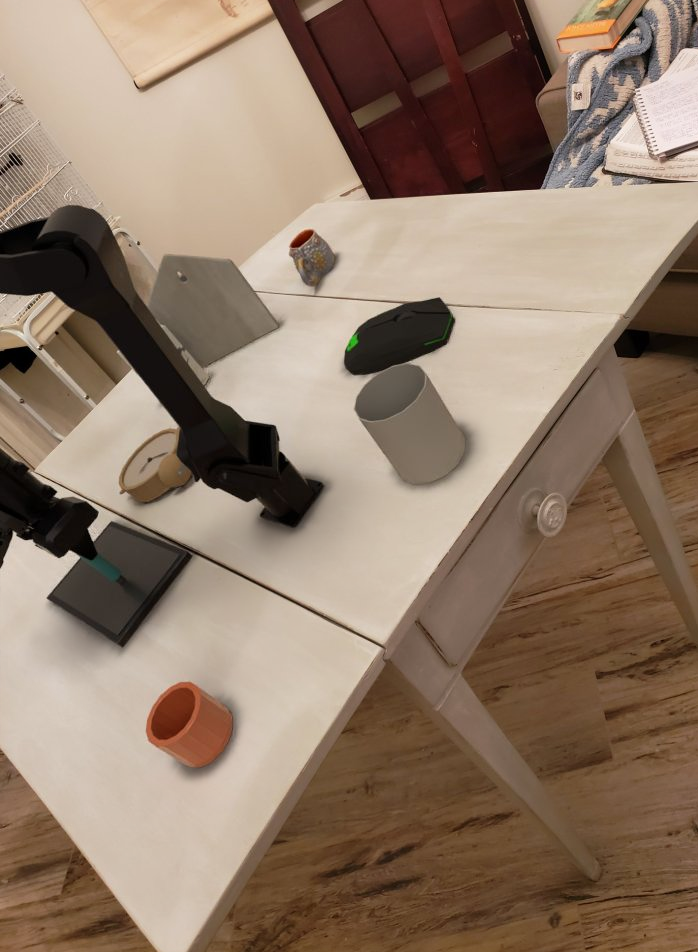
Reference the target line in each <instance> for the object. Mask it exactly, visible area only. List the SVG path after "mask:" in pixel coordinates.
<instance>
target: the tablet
mask: <svg viewBox="0 0 698 952" xmlns="http://www.w3.org/2000/svg"><path fill="white" fill-rule="evenodd" d="M93 543H94V546H95V548H96V551H97V553H98V554H100V555H101V556H102V557H103V558H105V559H106V560H107V561H108V562H110V563H111V564H112V565H113V566H115V567H116V568H117V569H118V570H120V571H121V575H122V576H123V577H124V578H125V579H124V581H123V582H122V583H121V584H118V583H117V582H116V581H114V582H112V581H110V580H109V579H107V578H106V577H105V576H104V575H102V574H101V573H100V572H98V571H97V570H96V569H95V568H93V567H92V566H91V565H90V564H88V563H87V562H86V561H84V560H83V559H82V558H81V557H79V558H78V559H77V560H76V562H75V563H74V565H72V566H71V567H70V569H69V570H68V571H67V573H66V574H65V575H64V576H63V577H62V578H61V580H60V581H59V582H58V583H57V585H56V586H55V587H54V588H53V589H52V590H51V592H49V594H47V597H46V600H48V601H49V602H50V603H52V604H54V605H56V606H57V607H58V608H60V609H62V610H63V611H64V612H66V613H68V614H69V615H70V616H72V617H74V618H76V619H77V620H79V621H80V622H82V623H84V625H86V626H88V627H89V628H91V629H93V630H94V631H96V632H98V633H99V634H100V635H102V636H104V637H106V639H108V640H110V641H112V642H113V643H115V644H116V645H118V646H119V647H121V648H124V646H125V645H126V644H127V643H128V642H129V640H130V639H131V638H132V636H133V635H134V634H135V632H136V631H137V630H138V628H139V627H140V625H141V624H142V623H143V621H144V620H145V619H146V618H147V616H148V615H149V614H150V612H151V611H152V610H153V608H154V607H155V606H156V604H158V602H159V601H160V599H161V598H162V596H163V595H164V594H165V593H166V592H167V590H168V589H169V588H170V586H171V585H172V584H173V582H174V581H175V579H177V577H178V576H179V574H180V573H181V572H182V571H183V569H184V568H185V566H186V565H187V564H188V562H189V561H190V560H191V559H192V557H193V554H192V553H190V552H189V551H188V550H185V549H183V548H180V547H178V546H175V545H172V544H171V543H168V542H165V541H163V540H160V539H158V538H155V537H154V536H150V535H147V534H145V533H142V532H140V531H137V530H135V529H133V528H130V527H128V526H125V525H123V524H120V523H117V522H115V521H113V520H111V521H109V522H108V524H107V525H106V526H105V527H104V528H103V530H102V531H101V532H100V533H99V534H98V536H97V537H96V538H95V540H93Z"/></svg>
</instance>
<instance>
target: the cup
mask: <svg viewBox="0 0 698 952" xmlns="http://www.w3.org/2000/svg"><path fill="white" fill-rule="evenodd" d="M353 411H354V412H355V415H356V416H357V419H358V420H359V422H361V424H362V426H363V427H364V428H365V430H366V431H367V433H368V434H369V435H370V436H371V438H372V439H373V441H374V443H375V444H376V445H377V446H378V448H379V449H380V450H381V453H383V455H384V456H385V458H386V459H387V460H388V462H389V463H390V465H391V466H392V468H393V469H394V471H396V473H397V474H398V476H399V477H400V479H401V480H402V481H404V482H407V483H410V485H411V484H412V485H424V484H425V485H426V484H430V483H433V482H434V481H437V480H440V479H442V478H443V477H446V476H447V475H448V474H450V472H451V471H452V470H454V469H455V468H456V467H458V465H459V463H460V461H461V459H462V458H463V456H464V454H465V452H466V437H465V435H464V434H463V432H462V430H461V429H460V427H459V425H458V424H457V422H456V420H455V419H454V417H453V415H452V413H451V412H450V411H449V409H448V406H447V405H446V403H445V402H444V400H443V399H442V396H441V395H440V394H439V392H438V390H437V389H436V387H435V386H434V383H433V382H432V380H431V379H430V377H429V375H428V374H427V372H426V371H425V370H424V369H423V367H422V366H421V365H419V364H415V363H410V362H405V363H403V364H400V365H394V366H392V367H390V368H388V369H386V370H382V371H379V372H377V373H376V374H375V375H374V376H373V377H371V379H369V380H368V381H367V382H366V383H365V384H363V386H362V387H361V389H360V391H359V392H358V393H357V395H356V397H355V400H354V406H353Z"/></svg>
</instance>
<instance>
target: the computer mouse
mask: <svg viewBox="0 0 698 952" xmlns="http://www.w3.org/2000/svg"><path fill="white" fill-rule="evenodd" d="M454 324H455V317H454V315H453V314H452V312H451V310H450V309H449V308H448V306H447V304H445V302H444V301H443V299H442V298H441V297H439V296H438V297H433V298H428V299H425V300H419V301H413V302H406V303H403V304H400V305H398V306H396V307H394V308H391V309H388V310H386V311H384V312H381V313H378V314H376V315H375V316H373V317H371V318H368V319H367V320H365V322H363V323H362V324H360V325H359V326H358V327H357V329H356V330H355V331H354V333H353V334H352V336H351V338H350V339H349V341H348V342H347V345H346V347H345V349H344V354H343V355H344V356H343V365H344V368H345V370H346V371H348V372H349V373H350V374H351V375H353V376H360V375H361V376H362V375H370V374H374V373H380V372H382V371H384V370H386V369H388V368H390V367H392V366H394V365H400V364H405V363H409V362H410V361H413V360H415V359H418V358H420V357H422V356H424V355H427V354H430V353H432V352H434V351H435V350H438V349H440V348H441V347H444V346H446V345H447V344H448V342H449V339H450V336H451V333H452V330H453V327H454Z"/></svg>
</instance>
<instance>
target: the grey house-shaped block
mask: <svg viewBox="0 0 698 952" xmlns="http://www.w3.org/2000/svg"><path fill="white" fill-rule="evenodd" d="M179 273H180V274H179ZM146 306H147V308H148V309H149V310H150V312H151V313H152V315H153V316H154V317H155V319H156V320H157V321H158V323H159V324H160V325H165V326H166V327H167V328H168V330H169V331H170V332H171V333H172V334H173V335H174V337H175V338H176V339H177V340H178V341H179V342H180V344H181V345H182V346H183V347H184V348H185V349H186V350H187V352H188V353H189V354H190V355H191V356H192V357H193V359H194V360H195V361H196V362H197V363H198V364H199V365H200V367H201V368H202V369H203V368H205V367H206V366H209V365H211V364H212V363H215V362H216V361H218V360H220V359H221V358H224V357H225V356H228V355H229V354H231V353H233V352H234V351H236V350H238V349H241V348H242V347H244V346H246V345H247V344H250V343H251V342H254V341H256V340H258V339H260V338H261V337H263V336H265V335H267V334H269V333H271V332H272V331H274V330H277V329H278V328H279V327H280V324H279V322H278V321H277V319H276V318H275V317H274V315H273V314H272V313H271V311H270V310H269V308H268V307H267V305H265V303H264V302H263V300H262V299H261V297H260V296H259V295H258V294H257V292H256V290H255V289H254V288H253V287H252V285H251V284H250V283H249V281H248V280H247V278H246V277H245V275H244V274H243V273H242V271H241V270H240V268H238V266H237V264H235V262H234V261H233V260H232V259H230V258H223V257H221V258H219V257H211V256H200V255H186V254H173V253H165V254H163V255H162V257H161V261H160V264H159V266H158V269H157V272H156V275H155V278H154V281H153V285H152V286H151V291H150V294H149V298H148V300H147V303H146Z"/></svg>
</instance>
